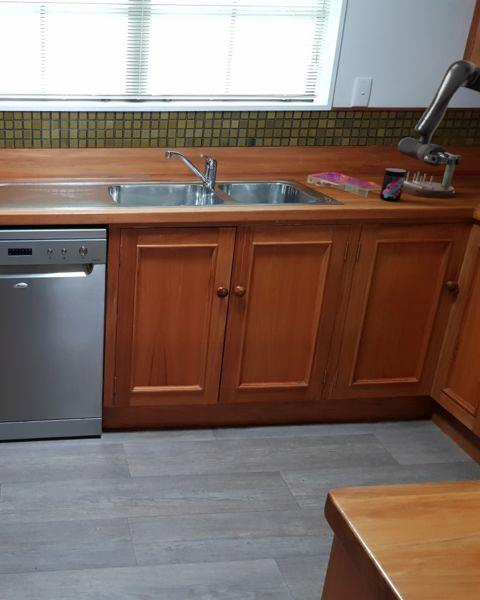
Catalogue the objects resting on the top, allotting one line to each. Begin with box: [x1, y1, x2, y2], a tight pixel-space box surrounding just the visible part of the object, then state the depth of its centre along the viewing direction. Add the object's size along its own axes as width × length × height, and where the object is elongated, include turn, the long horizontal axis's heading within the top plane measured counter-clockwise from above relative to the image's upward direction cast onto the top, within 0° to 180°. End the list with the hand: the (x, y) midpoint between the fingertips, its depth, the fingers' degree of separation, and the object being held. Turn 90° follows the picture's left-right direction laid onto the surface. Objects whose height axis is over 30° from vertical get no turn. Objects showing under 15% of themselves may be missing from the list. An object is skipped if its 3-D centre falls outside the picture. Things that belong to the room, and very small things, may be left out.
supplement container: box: [379, 167, 408, 202], centre depth 213 cm, size 7×7×10 cm
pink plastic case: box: [306, 171, 382, 198], centre depth 229 cm, size 30×15×5 cm, turn 21°
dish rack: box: [403, 154, 457, 193], centre depth 223 cm, size 17×17×12 cm
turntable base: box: [402, 187, 456, 199], centre depth 226 cm, size 18×18×2 cm
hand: (454, 162), depth 220 cm, fingers closed on dish rack, 2 cm apart
